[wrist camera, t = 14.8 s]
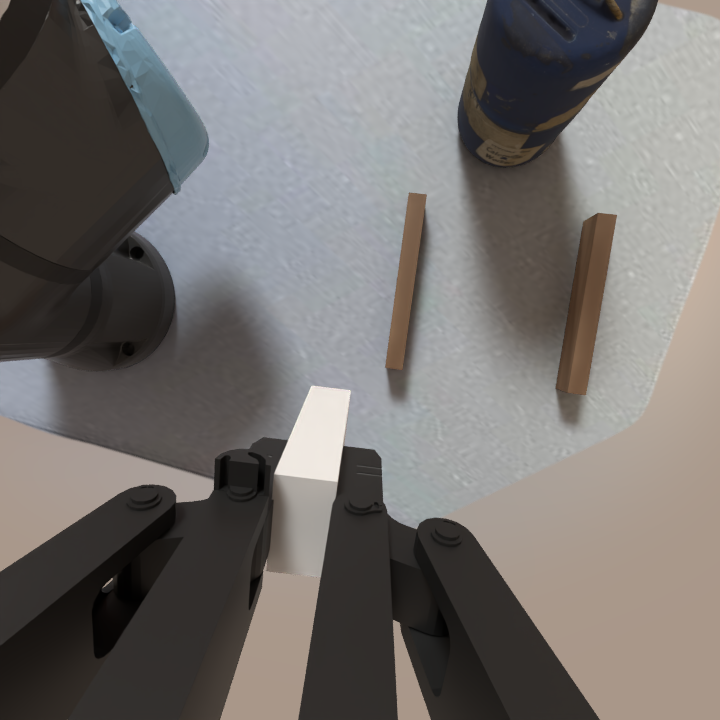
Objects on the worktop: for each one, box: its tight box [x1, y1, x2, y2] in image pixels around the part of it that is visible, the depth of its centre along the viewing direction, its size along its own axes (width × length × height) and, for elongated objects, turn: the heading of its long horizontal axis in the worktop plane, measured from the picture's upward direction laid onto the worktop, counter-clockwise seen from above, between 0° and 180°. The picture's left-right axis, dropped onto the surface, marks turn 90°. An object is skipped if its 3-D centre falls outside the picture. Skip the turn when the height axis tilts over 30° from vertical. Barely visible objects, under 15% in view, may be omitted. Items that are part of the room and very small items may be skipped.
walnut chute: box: [385, 193, 617, 395], centre depth 41 cm, size 18×16×3 cm
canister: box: [458, 0, 658, 167], centre depth 32 cm, size 10×10×18 cm
